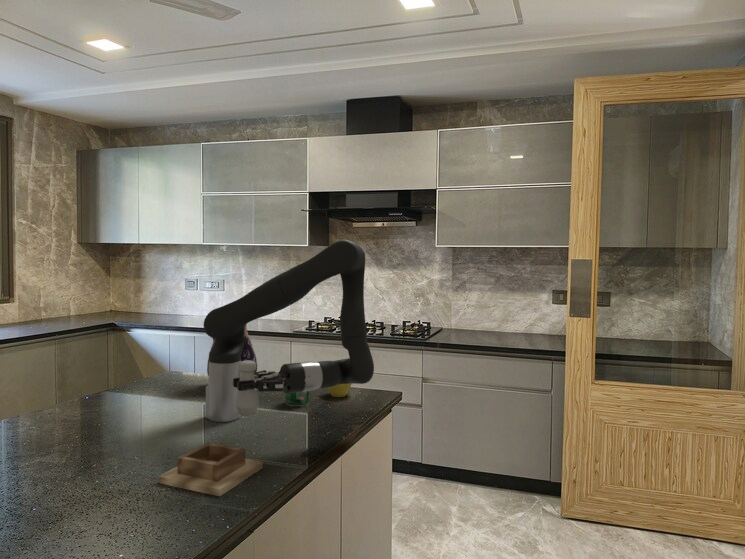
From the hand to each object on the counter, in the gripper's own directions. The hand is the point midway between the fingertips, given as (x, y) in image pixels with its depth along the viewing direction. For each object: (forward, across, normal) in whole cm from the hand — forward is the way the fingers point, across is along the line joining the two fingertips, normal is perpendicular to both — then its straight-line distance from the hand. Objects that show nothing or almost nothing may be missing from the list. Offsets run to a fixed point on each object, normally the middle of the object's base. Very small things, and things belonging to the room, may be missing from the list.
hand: (235, 384), depth 135 cm
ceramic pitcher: (-17, -66, +18) cm, 70 cm away
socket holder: (+8, +9, +18) cm, 21 cm away
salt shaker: (-3, 0, +8) cm, 8 cm away
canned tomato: (-31, -36, +18) cm, 51 cm away
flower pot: (-48, -39, +18) cm, 65 cm away
